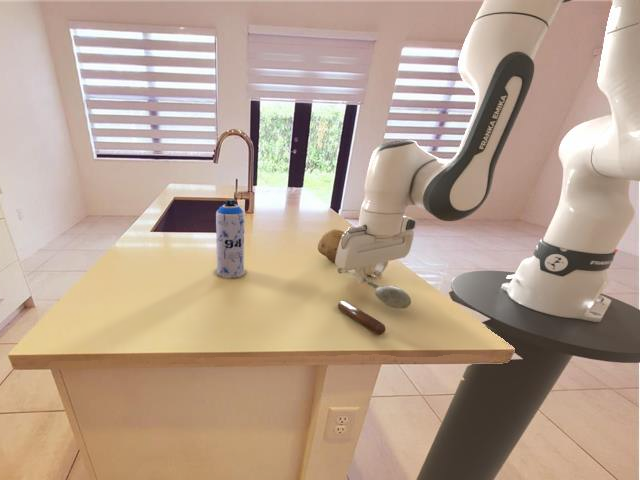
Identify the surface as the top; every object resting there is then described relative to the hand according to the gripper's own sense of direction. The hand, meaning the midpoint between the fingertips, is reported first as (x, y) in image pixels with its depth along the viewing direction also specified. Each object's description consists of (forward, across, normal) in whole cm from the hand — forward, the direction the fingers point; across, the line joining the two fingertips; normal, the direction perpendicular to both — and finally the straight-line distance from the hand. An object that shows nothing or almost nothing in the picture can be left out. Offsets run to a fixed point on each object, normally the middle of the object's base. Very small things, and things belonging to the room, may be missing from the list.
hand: (368, 279), depth 75 cm
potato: (+4, +8, +22) cm, 23 cm away
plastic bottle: (+4, +10, +10) cm, 15 cm away
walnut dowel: (+4, -10, -8) cm, 14 cm away
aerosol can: (+4, -24, +27) cm, 36 cm away
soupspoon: (+2, 0, -1) cm, 2 cm away
